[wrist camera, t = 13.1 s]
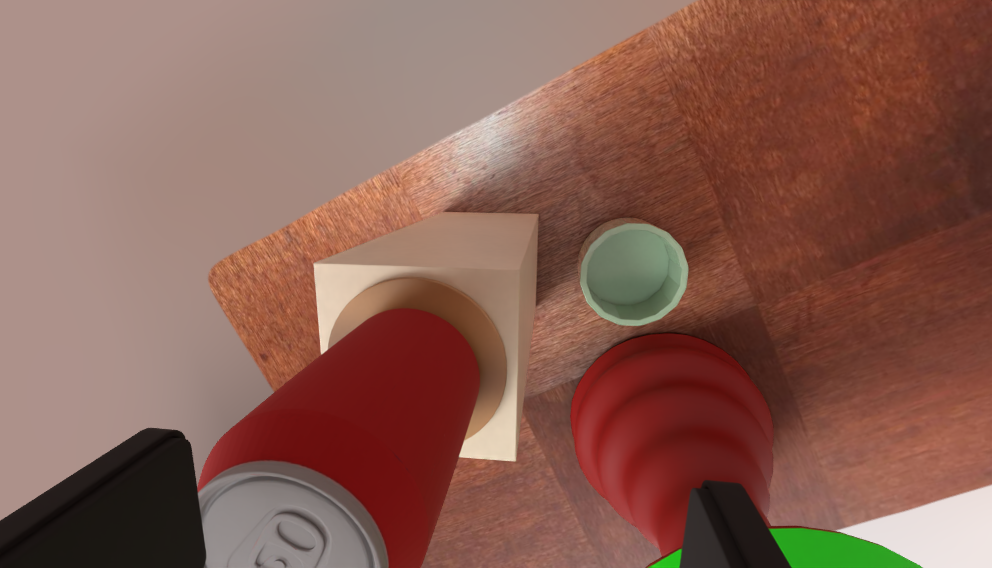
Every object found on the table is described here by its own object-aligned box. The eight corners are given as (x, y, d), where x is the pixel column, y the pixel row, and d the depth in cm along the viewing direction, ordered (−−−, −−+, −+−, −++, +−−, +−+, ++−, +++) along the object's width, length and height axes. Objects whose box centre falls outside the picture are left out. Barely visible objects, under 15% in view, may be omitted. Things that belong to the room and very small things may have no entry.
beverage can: (326, 386, 24) (117, 587, 13) (386, 275, 22) (206, 391, 11) (441, 454, 24) (338, 715, 13) (509, 349, 23) (462, 541, 11)
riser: (442, 211, 50) (313, 262, 23) (538, 213, 49) (519, 269, 22) (444, 303, 52) (328, 447, 25) (535, 307, 51) (516, 461, 24)
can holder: (580, 216, 49) (583, 222, 43) (677, 218, 48) (693, 224, 42) (575, 307, 51) (577, 323, 46) (668, 310, 50) (682, 328, 44)
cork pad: (323, 273, 23) (320, 274, 23) (508, 279, 22) (508, 281, 22) (336, 439, 25) (333, 443, 25) (506, 452, 24) (505, 457, 24)
